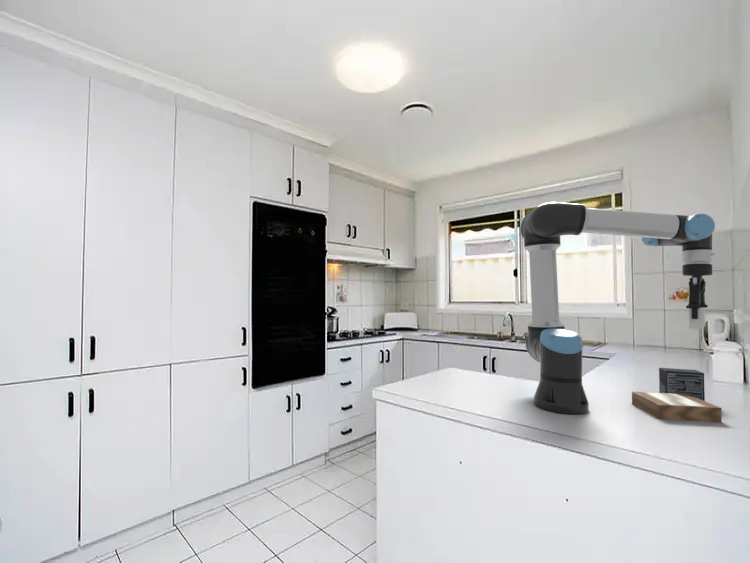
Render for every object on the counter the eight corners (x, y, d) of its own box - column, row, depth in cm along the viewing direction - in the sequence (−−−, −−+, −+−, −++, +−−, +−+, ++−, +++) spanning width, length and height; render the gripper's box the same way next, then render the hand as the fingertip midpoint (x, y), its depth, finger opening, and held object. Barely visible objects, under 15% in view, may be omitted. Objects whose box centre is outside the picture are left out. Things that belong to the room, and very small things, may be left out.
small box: (696, 400, 126) (696, 369, 126) (705, 406, 120) (705, 373, 120) (658, 397, 129) (658, 366, 130) (665, 402, 123) (665, 370, 123)
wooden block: (658, 418, 107) (658, 404, 107) (632, 404, 121) (632, 391, 121) (721, 422, 105) (721, 407, 105) (687, 406, 119) (686, 393, 119)
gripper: (708, 260, 114) (709, 331, 113) (715, 265, 131) (715, 326, 131) (677, 261, 119) (677, 329, 118) (687, 265, 136) (687, 324, 136)
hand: (697, 328), depth 125 cm, fingers open, 13 cm apart
